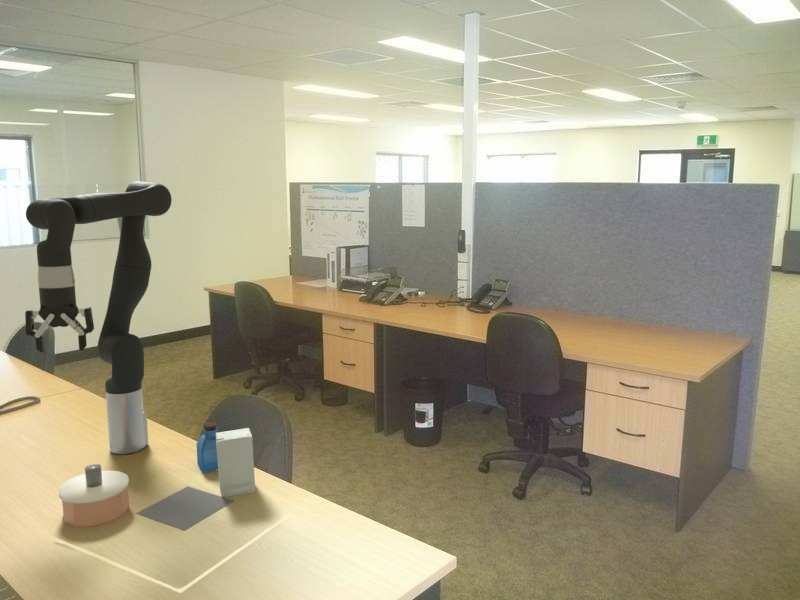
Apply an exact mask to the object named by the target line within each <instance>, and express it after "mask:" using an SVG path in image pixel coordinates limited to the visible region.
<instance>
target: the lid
mask: <svg viewBox="0 0 800 600" xmlns="http://www.w3.org/2000/svg"><path fill="white" fill-rule="evenodd" d="M129 478H130V477H129V476H128V475H127V474H126V473H124V472H122V471H118V470H102V465H101V464H100V463H98V464H97V463H95V464H93V463H92V464H89V465H87V466H85V468H84V473H82V474H79V475H77V476H75V477H72V478H70V479H68V480H67V481H64V482H63V483H62V484H61V485H60V486H59V488H58V497H59V499H60V500H61V502H62V501H65V502H68V503H74V504H85V503H93V502H98V501H102V500H106V499H109V498H111V497H114V496H116V495H118V494H120V493H121V492H123V491H124V490H125V489H126V488H127V487H128V488H129V485H130V484H129V483H130V479H129Z"/></svg>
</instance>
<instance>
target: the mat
mask: <svg viewBox="0 0 800 600" xmlns="http://www.w3.org/2000/svg"><path fill="white" fill-rule="evenodd" d="M233 502H235V500H234V499H231V498H228V497H221V495H217V494H214V493H211V492H208V491H205V490H201V489H198V488H194V487H191V486H189V485H188V486H186V487H184V488H182V489H180V490H178V491H175V492H173V494H172V493H171V494H170V495H168V496H166V497H164V498H162V499H161V500H159V501H157V502H155V503H153V504H150V505H148V506H147V507H144V508H143V509H141V510H139V511H137V512H135V514H136V515H138V516H142V517H144V518H147V519H149V520H153V521H155V522H159V523H162V524H163V525H166V526H167V525H168V526H170V527H172V528H175V529H178V530H181V531H184V532H185V531H186V530H188V529H190V528H192V527H193V526H195V525H197V524H199V523H200V522H201V521H204V520H205V519H207V518H208V517H210V516H212V515H213V514H215V513H218V512H219V511H221V510H222V509H223V508H225V507H227V506H228V505H231V503H232V504H233Z"/></svg>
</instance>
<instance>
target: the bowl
mask: <svg viewBox="0 0 800 600" xmlns="http://www.w3.org/2000/svg"><path fill="white" fill-rule="evenodd" d="M129 502H130V498H129V486H128V487H127V488H126V489H125V490H124V491H123V492H121V493H120V494H118V495H116V496H114V497H111V498H109V499H106V500H102V501H98V502H93V503H85V504H74V503H68V502H65V501H62V500H61V507H62V515H63V522H64V523H65V524H68V525H69V526H73V527H94V526H99V525H103V524H107V523H110V522H112V521H113V520H115V519H116V520H117V519H118V518H119V517H122V516H123V515H124V514H125V513H126V512H127V511H128V510H129V508H130V503H129Z"/></svg>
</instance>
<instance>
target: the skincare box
mask: <svg viewBox="0 0 800 600" xmlns="http://www.w3.org/2000/svg"><path fill="white" fill-rule="evenodd" d="M253 445H254V444H253V435H252V432H251V429H250V428H249V427H246V428H245V427H243V428H240V429H233V430H227V431H220V432H219V431H217V433H216V448H217V459H218V470H217V472H218V482H219V483H218V485H219V490H220V491H219V492H220V496H221V497H224V498H227V497H231V496H238V495H244V494H249V493H256V481H255V480H256V479H255V478H256V477H255V476H256V475H255V464H254V463H255V462H254V446H253Z"/></svg>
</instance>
